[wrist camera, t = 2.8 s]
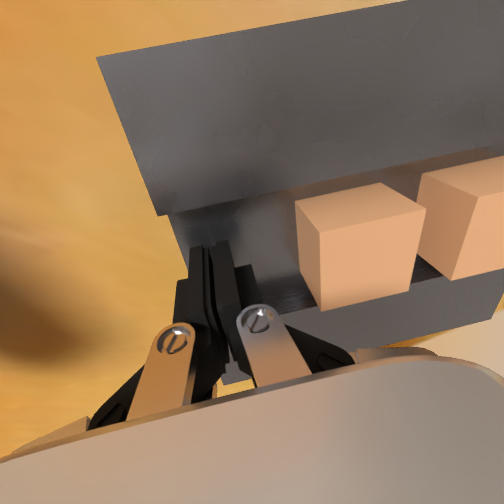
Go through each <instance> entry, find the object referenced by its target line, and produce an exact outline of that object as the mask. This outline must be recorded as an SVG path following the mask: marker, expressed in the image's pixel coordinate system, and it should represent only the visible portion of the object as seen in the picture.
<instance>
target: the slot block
mask: <svg viewBox="0 0 504 504" xmlns="http://www.w3.org/2000/svg"><path fill="white" fill-rule="evenodd" d="M96 59H97V62H98V64H99V67H100V69H101V72H102V75H103V77H104V80H105V82H106V85H107V87H108V90H109V93H110V95H111V98H112V100H113V103H114V105H115V108H116V110H117V113H118V116H119V118H120V121H121V123H122V126H123V128H124V131H125V133H126V136H127V139H128V141H129V144H130V146H131V149H132V151H133V154H134V157H135V159H136V162H137V164H138V167H139V169H140V172H141V174H142V177H143V180H144V182H145V185H146V187H147V190H148V192H149V195H150V198H151V200H152V203H153V205H154V208H155V210H156V213H157V215H158V216H162V215H168V217H169V220H170V223H171V225H172V228H173V231H174V234H175V236H176V239H177V242H178V245H179V247H180V250H181V253H182V255H183V258H184V261H185V264H186V266H187V269H188V271H189V252H190V247H195V246H199V245H203V247H204V248H206V247H208V248H209V251H210V255H211V258H212V246H215V245H216V242H218V241H222V240H227V239H228V241H229V246H230V250H231V254H232V258H233V262H234V266H235V267H239V266H244V265H248V264H251V265H252V268H253V271H254V275H255V279H256V282H257V286H258V289H259V293H260V296H261V300H262V303H263V304H265V305H269V306H271V307H272V308H274V309H275V310H276V312H277V313H278V315H279V316H280V318H281V320H282V322H283V323H284V324H286V325H288V326H290V327H293V328H295V329H298V330H300V331H302V332H305V333H307V334H309V335H312V336H314V337H317V338H319V339H321V340H324V341H326V342H328V343H331V344H333V345H336V346H338V347H340V348H342V349H344V350H345V351H347V352H356V349H366V348H377V347H381V346H385V345H389V344H393V343H397V342H401V341H405V340H409V339H413V338H417V337H421V336H425V335H429V334H433V333H437V332H441V331H445V330H449V329H453V328H457V327H461V326H465V325H469V324H473V323H477V322H481V321H485V320H489V319H491V318H492V316H493V314H494V312H495V310H496V308H497V305H498V303H499V301H500V299H501V297H502V295H503V293H504V268H502V269H498V270H494V271H490V272H486V273H481V274H477V275H473V276H469V277H465V278H461V279H456V280H452V281H450V280H449V279H448V278H447V277H445V276H444V275H443V274H442V273H440V272H439V271H438V270H437V269H436V268H434V267H433V266H432V265H431V264H429V263H428V262H427V261H426V260H424V259H423V258H422V257H421V256H419V255H418V254H416V259H415V263H414V268H413V272H412V277H411V281H410V286H409V290H408V291H406V292H402V293H398V294H394V295H389V296H385V297H381V298H377V299H373V300H369V301H364V302H360V303H356V304H352V305H348V306H343V307H339V308H335V309H331V310H327V311H323V312H321V310H320V309H319V307H318V305H317V303H316V301H315V299H314V297H313V295H312V293H311V291H310V289H309V288H308V286H307V284H306V282H305V280H304V278H303V276H302V274H301V272H300V266H299V253H298V239H297V225H296V212H295V201H296V200H301V199H306V198H310V197H315V196H320V195H324V194H329V193H333V192H338V191H343V190H347V189H352V188H356V187H361V186H366V185H370V184H375V183H380V182H381V183H382V184H384V185H386V186H388V187H389V188H391V189H393V190H395V191H396V192H398V193H400V194H401V195H403V196H405V197H407V198H408V199H410V200H412V201H414V202H415V203H416V202H417V196H418V191H419V186H420V181H421V176H422V173H426V172H430V171H435V170H439V169H444V168H449V167H453V166H458V165H463V164H467V163H472V162H476V161H481V160H486V159H490V158H495V157H499V156H504V0H407V1H401V2H396V3H390V4H385V5H379V6H374V7H368V8H363V9H357V10H352V11H346V12H341V13H335V14H330V15H324V16H319V17H313V18H308V19H302V20H297V21H292V22H286V23H281V24H275V25H270V26H264V27H259V28H253V29H248V30H242V31H237V32H231V33H226V34H220V35H215V36H209V37H204V38H198V39H193V40H187V41H182V42H176V43H171V44H165V45H160V46H154V47H149V48H144V49H138V50H133V51H127V52H122V53H116V54H111V55H105V56H100V57H96ZM212 261H213V258H212ZM228 347H229V345H228ZM229 356H230V363H228V364H225V365H226V373H225V374H222V376H221V379H222V382H223V385H228V384H232V383H236V382H240V381H244V380H248V379H251V377H250V376H249V375H247V374H245V373H244V372H242V371H240V370H239V367H238V363H237V362H234V360H233V357H232V354H231V351H230V348H229Z"/></svg>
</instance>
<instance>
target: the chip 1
mask: <svg viewBox="0 0 504 504" xmlns="http://www.w3.org/2000/svg"><path fill="white" fill-rule="evenodd" d="M295 212H296V225H297V239H298V253H299V266H300V272H301V274H302V276H303V278H304V280H305V282H306V284H307V286H308V288H309V289H310V291H311V293H312V295H313V297H314V299H315V301H316V303H317V305H318V307H319V309H320V310H321V312H323V311H327V310H331V309H335V308H339V307H343V306H348V305H352V304H356V303H360V302H364V301H369V300H373V299H377V298H381V297H385V296H389V295H394V294H398V293H402V292H406V291H408V290H409V286H410V281H411V277H412V272H413V268H414V263H415V259H416V254H417V250H418V245H419V241H420V236H421V232H422V227H423V223H424V218H425V214H426V208H424V207H422V206H421V205H419V204H417V203H415V202H414V201H412V200H410V199H408V198H407V197H405V196H403V195H401V194H400V193H398V192H396V191H395V190H393V189H391V188H389V187H388V186H386V185H384V184H382V183H381V182H380V183H375V184H370V185H366V186H361V187H356V188H352V189H347V190H343V191H338V192H333V193H329V194H324V195H320V196H315V197H310V198H306V199H301V200H296V201H295Z"/></svg>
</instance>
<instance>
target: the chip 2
mask: <svg viewBox="0 0 504 504" xmlns="http://www.w3.org/2000/svg"><path fill="white" fill-rule="evenodd" d="M416 203H417V204H419V205H421V206H422V207H424V208H426V214H425V218H424V223H423V227H422V232H421V236H420V241H419V245H418V250H417V254H418V255H419V256H421V257H422V258H423V259H424V260H426V261H427V262H428V263H429V264H431V265H432V266H433V267H434V268H436V269H437V270H438V271H439V272H440V273H442V274H443V275H444V276H445V277H447V278H448V279H449V280H450V281H452V280H456V279H461V278H465V277H469V276H473V275H477V274H481V273H486V272H490V271H494V270H498V269H502V268H504V156H499V157H495V158H490V159H486V160H481V161H476V162H472V163H467V164H463V165H458V166H453V167H449V168H444V169H439V170H435V171H430V172H426V173H422V176H421V181H420V186H419V191H418V196H417V202H416Z"/></svg>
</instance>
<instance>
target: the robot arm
mask: <svg viewBox="0 0 504 504" xmlns="http://www.w3.org/2000/svg"><path fill="white" fill-rule="evenodd" d="M212 258H213V261H212ZM212 258H211V255H210V251H209V248H208V247H206V248H204V247H203V245H199V246H195V247H190V252H189V271H188V278H187V279H182V280H178V281H177V287H176V296H175V306H174V315H173V324H171V325H169V326H167V327H165V328H164V329H163V330H161V331H160V332H159V333H158V334H157V335H156V337H155V339H154V341H153V343H152V346H151V349H150V352H149V354H148V357H147V360H146V363H145V365H144V366H143V367H141V368H140V369H139V370H138V371H137V372H136V373H135V374H134V375H133V376H132V377H131V378H130V379H129V380H128V381H127V382H126V383H125V384H124V385H123V386H122V387H121V388H120V389H119V390H118V391H117V392H116V393H115V394H113V395H112V396H111V397H110V398H109V399H108V400H107V401H106V402H105V403H104V404H103V405H102V406H101V407H100V408H99V409H98V411H97V412H96V413H95V414H94V416H93V417H92V418H89V417H88V416H86V417H83V418H81V419H79V420H77V421H75V422H73V423H71V424H68V425H66V426H64V427H62V428H60V429H58V430H56V431H53V432H51V433H49V434H47V435H45V436H43V437H41V438H38V439H36V440H34V441H32V442H30V443H28V444H25V445H23V446H21V447H20V448H18V449H17V450H15V451H13V452H12V453H11V454H9V455H7V456H4V457H2V458H0V504H504V378H503V377H502V376H500V375H499V374H497V373H495V372H493V371H492V370H490V369H488V368H486V367H484V366H481V365H478V364H476V363H473V362H469V361H465V360H461V359H456V358H451V357H442V356H438V355H436V354H435V353H434V352H432V351H430V350H427V349H425V348H419V347H399V348H366V349H356V352H347V351H345V350H344V349H342V348H340V347H338V346H336V345H333V344H331V343H328V342H326V341H324V340H321V339H319V338H317V337H314V336H312V335H309V334H307V333H305V332H302V331H300V330H298V329H295V328H293V327H290V326H288V325H286V324H284V323H283V322H282V320H281V318H280V316H279V315H278V313H277V312H276V310H275V309H274V308H272V307H271V306H269V305H265V304H263V303H262V300H261V296H260V293H259V289H258V286H257V282H256V279H255V275H254V271H253V268H252V265H251V264H248V265H244V266H239V267H235V266H234V262H233V258H232V254H231V250H230V246H229V241H228V239H227V240H222V241H218V242H216V245H215V246H212ZM228 345H229V347H228ZM229 348H230V351H231V354H232V357H233V360H234V362H237V363H238V367H239V370H240V371H242V372H244V373H245V374H247V375H249V376H250V377H251V379H252V382H253V385H254V389H250V390H246V391H242V392H238V393H234V394H230V395H226V396H222V397H218V398H217V384H216V382H217V381H218V379H219V378H220V377H221V376H222V374H225V373H226V365H225V364H228V363H230V356H229Z"/></svg>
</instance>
